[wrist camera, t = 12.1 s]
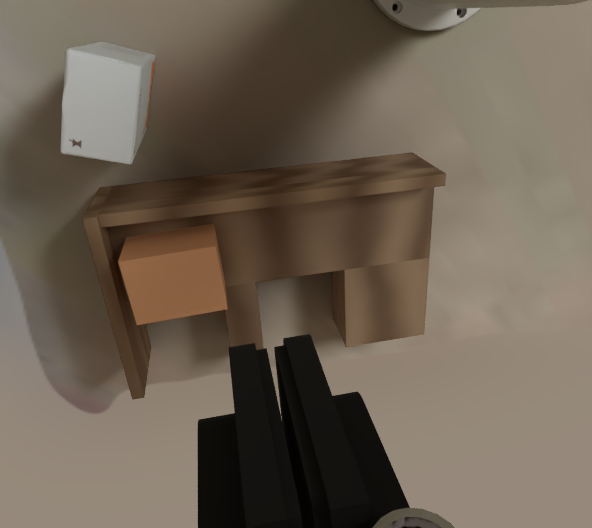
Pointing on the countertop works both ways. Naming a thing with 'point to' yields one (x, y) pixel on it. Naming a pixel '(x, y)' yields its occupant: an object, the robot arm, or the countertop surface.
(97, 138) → the skincare box
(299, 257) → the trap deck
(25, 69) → the countertop surface
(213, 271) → the block
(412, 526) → the robot arm
